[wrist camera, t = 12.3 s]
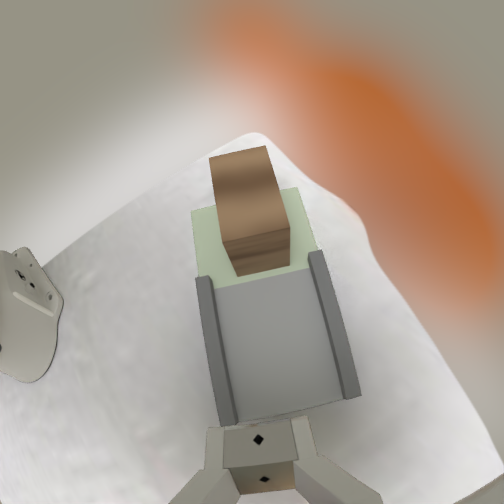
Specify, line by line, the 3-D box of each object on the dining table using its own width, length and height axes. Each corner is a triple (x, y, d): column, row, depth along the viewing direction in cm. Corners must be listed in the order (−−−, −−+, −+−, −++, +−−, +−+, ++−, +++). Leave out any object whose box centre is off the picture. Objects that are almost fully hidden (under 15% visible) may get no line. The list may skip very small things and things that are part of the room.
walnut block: (289, 265, 35) (290, 227, 26) (237, 277, 35) (222, 242, 26) (270, 194, 39) (265, 145, 31) (224, 204, 39) (208, 158, 31)
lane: (354, 394, 29) (361, 395, 26) (226, 423, 29) (220, 426, 26) (296, 191, 40) (297, 177, 37) (192, 214, 40) (186, 202, 37)
